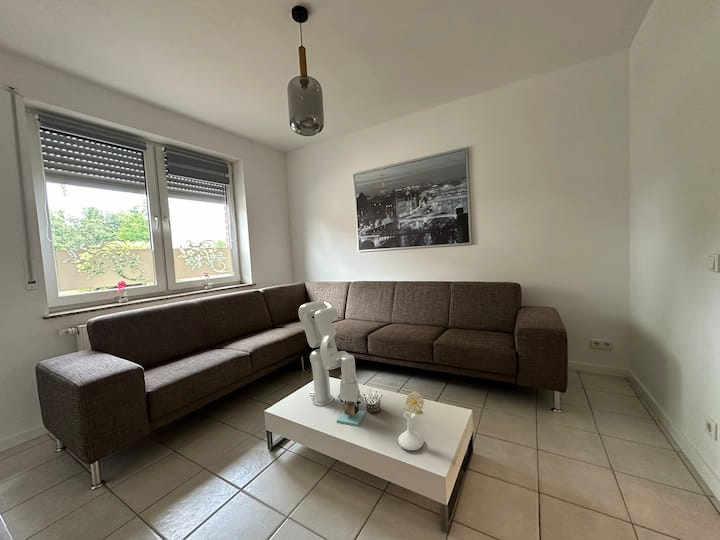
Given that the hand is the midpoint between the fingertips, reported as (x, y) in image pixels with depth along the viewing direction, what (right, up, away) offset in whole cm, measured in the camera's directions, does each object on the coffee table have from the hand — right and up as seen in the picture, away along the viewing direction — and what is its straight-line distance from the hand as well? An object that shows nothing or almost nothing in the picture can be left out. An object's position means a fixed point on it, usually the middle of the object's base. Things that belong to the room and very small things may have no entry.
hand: (351, 411), depth 151 cm
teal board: (0, -4, 0) cm, 4 cm away
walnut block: (0, -1, 0) cm, 1 cm away
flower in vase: (+28, -4, -24) cm, 37 cm away
